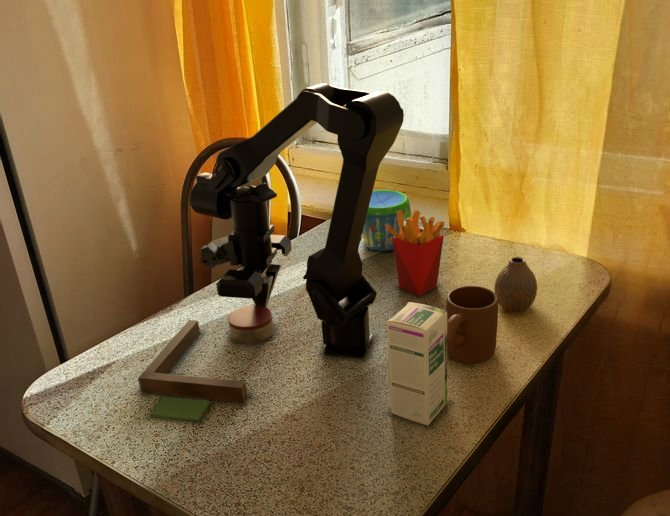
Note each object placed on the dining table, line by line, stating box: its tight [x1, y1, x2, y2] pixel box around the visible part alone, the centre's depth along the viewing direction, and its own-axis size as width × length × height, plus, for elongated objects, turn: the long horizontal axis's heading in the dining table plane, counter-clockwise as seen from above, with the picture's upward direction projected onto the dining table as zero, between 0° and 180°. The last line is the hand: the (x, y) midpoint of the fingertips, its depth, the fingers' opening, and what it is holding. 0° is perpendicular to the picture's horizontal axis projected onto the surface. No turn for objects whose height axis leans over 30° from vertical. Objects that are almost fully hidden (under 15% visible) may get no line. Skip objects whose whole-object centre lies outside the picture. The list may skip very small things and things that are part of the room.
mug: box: [445, 285, 499, 365], centre depth 98 cm, size 12×8×9 cm, turn 148°
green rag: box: [150, 396, 211, 422], centre depth 92 cm, size 7×4×1 cm, turn 78°
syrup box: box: [386, 301, 448, 427], centre depth 86 cm, size 6×6×14 cm
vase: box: [493, 256, 538, 314], centre depth 111 cm, size 7×7×9 cm
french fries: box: [385, 209, 445, 296], centre depth 116 cm, size 9×8×15 cm
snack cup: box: [360, 189, 412, 252], centre depth 136 cm, size 16×10×10 cm
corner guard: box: [137, 319, 248, 403], centre depth 101 cm, size 16×17×2 cm
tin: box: [227, 304, 275, 345], centre depth 109 cm, size 7×7×3 cm
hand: (262, 310), depth 113 cm, fingers closed
